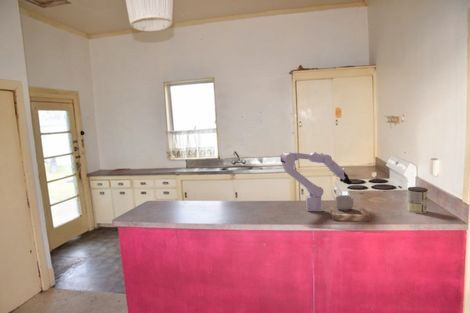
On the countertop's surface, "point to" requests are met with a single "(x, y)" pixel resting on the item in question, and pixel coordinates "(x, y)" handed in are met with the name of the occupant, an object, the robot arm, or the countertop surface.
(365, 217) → the wooden bay
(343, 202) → the teacup
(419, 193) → the coffee can
